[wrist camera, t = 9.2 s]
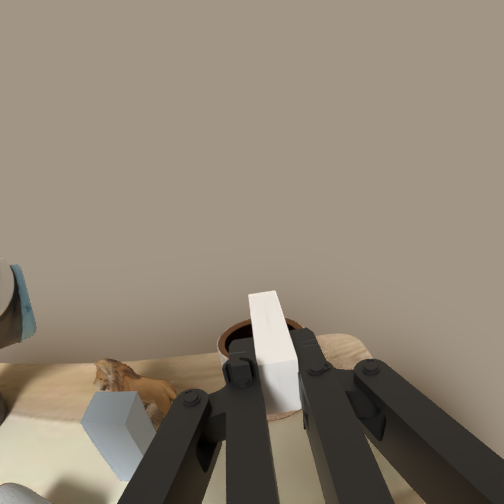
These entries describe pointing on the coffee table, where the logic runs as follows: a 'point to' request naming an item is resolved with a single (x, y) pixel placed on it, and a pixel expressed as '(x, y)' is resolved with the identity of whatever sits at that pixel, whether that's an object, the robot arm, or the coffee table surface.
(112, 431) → the slate block
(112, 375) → the lion figurine
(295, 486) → the coffee table surface
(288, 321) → the planter
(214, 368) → the coffee table surface
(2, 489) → the ceramic mug
